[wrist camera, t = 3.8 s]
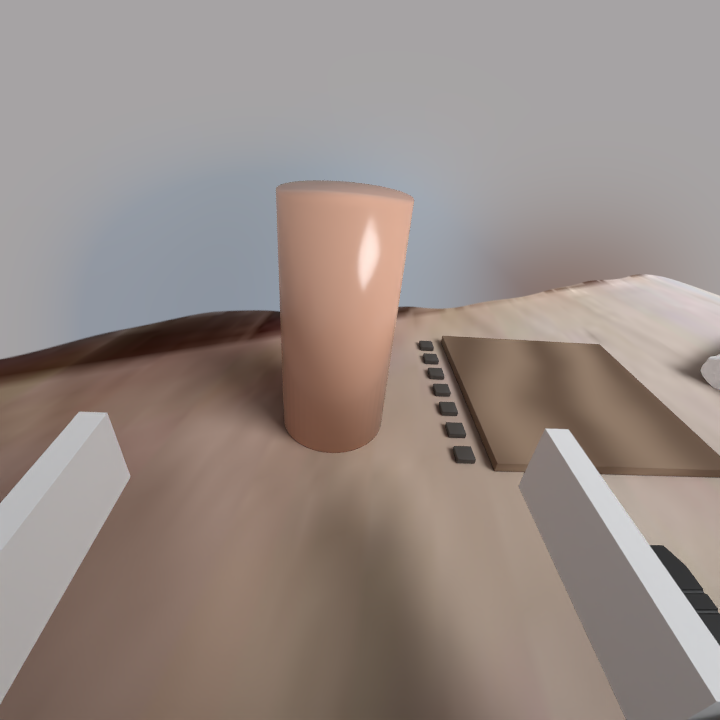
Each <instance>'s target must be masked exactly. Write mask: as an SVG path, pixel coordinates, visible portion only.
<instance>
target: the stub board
mask: <svg viewBox="0 0 720 720" xmlns="http://www.w3.org/2000/svg"><path fill="white" fill-rule="evenodd" d="M441 343H442V345H443V348H444V350H445V353H446V355H447V357H448V360H449V362H450V365H451V367H452V370H453V372H454V374H455V377H456V379H457V382H458V384H459V386H460V389H461V391H462V394H463V396H464V398H465V401H466V403H467V406H468V408H469V410H470V413H471V415H472V418H473V420H474V423H475V425H476V427H477V430H478V432H479V435H480V437H481V439H482V442H483V444H484V447H485V449H486V451H487V454H488V456H489V459H490V461H491V463H492V466H493V468H494V471H513V472H525V471H526V469H527V467H528V464H529V462H530V460H531V458H532V456H533V454H534V452H535V449H536V447H537V445H538V443H539V441H540V439H541V437H542V434H543V432H544V430H545V429H569V431H570V432H571V434H572V435H573V436H574V438H575V439H576V441H577V442H578V444H579V445H580V446H581V448H582V449H583V451H584V452H585V454H586V455H587V456H588V458H589V459H590V461H591V462H592V464H593V465H594V466H595V468H596V469H597V471H598V472H599V474H620V475H655V476H690V477H720V456H719V455H718V454H717V453H716V452H715V451H714V450H713V449H712V448H711V447H709V446H708V445H707V444H706V443H705V442H704V441H703V440H702V439H701V438H700V437H699V436H698V435H697V434H695V433H694V432H693V431H692V430H691V429H690V428H689V427H688V426H687V425H686V424H685V423H684V422H683V421H681V420H680V419H679V418H678V417H677V416H676V415H675V414H674V413H673V412H672V411H671V410H670V409H669V408H667V407H666V406H665V405H664V404H663V403H662V402H661V401H660V400H659V399H658V398H657V397H656V396H654V395H653V394H652V393H651V392H650V391H649V390H648V389H647V388H646V387H645V386H644V385H643V384H642V383H640V382H639V381H638V380H637V379H636V378H635V377H634V376H633V375H632V374H631V373H630V372H629V371H628V370H626V369H625V368H624V367H623V366H622V365H621V364H620V363H619V362H618V361H617V360H616V359H615V358H614V357H612V356H611V355H610V354H609V353H608V352H607V351H606V350H605V349H604V348H603V347H602V346H601V345H599V344H582V343H564V342H545V341H527V340H509V339H490V338H472V337H453V336H442V340H441ZM419 345H420V348H421V350H430V351H433V348H434V347H433V344H432V342H431V341H419ZM423 358H424V361H425V364H438V362H439V360H438V358H437V355H436V354H425V353H424V355H423ZM428 374H429V377H430V379H444V374H443V371H442V368H428ZM433 389H434V392H435V395H436V396H450V394H451V392H450V390H449V387H448V384H433ZM439 408H440V411H441V414H442V415H449V416H457V414H458V411H457V408H456V406H455V403H454V402H439ZM445 427H446V430H447V433H448V436H449V437H453V438H465V436H466V432H465V430H464V427H463V424H462V423H451V422H446V425H445ZM453 452H454V455H455V458H456V461H457V463H475V460H476V459H475V457H474V454H473V451H472V448H471V447H469V446H454V447H453Z"/></svg>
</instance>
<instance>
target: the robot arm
mask: <svg viewBox="0 0 720 720" xmlns="http://www.w3.org/2000/svg"><path fill="white" fill-rule="evenodd" d="M129 479H130V474H129V471H128V468H127V466H126V463H125V460H124V457H123V455H122V452H121V449H120V446H119V444H118V441H117V438H116V435H115V433H114V430H113V427H112V424H111V422H110V419H109V416H108V413H101V412H79V413H78V414H77V415H76V416H75V417H74V418H73V420H72V421H71V422H70V423H69V424H68V425H67V427H66V428H65V429H64V430H63V431H62V432H61V433H60V435H59V436H58V437H57V438H56V439H55V440H54V442H53V443H52V444H51V445H50V446H49V447H48V449H47V450H46V451H45V452H44V453H43V454H42V455H41V457H40V458H39V459H38V460H37V461H36V462H35V464H34V465H33V466H32V467H31V468H30V469H29V471H28V472H27V473H26V474H25V475H24V476H23V477H22V479H21V480H20V481H19V482H18V483H17V484H16V486H15V487H14V488H13V489H12V490H11V491H10V493H9V494H8V495H7V496H6V497H5V498H4V499H3V501H2V502H1V503H0V704H1V702H2V700H3V699H4V697H5V695H6V693H7V692H8V690H9V688H10V686H11V685H12V683H13V681H14V679H15V678H16V676H17V674H18V672H19V671H20V669H21V667H22V665H23V664H24V662H25V660H26V658H27V657H28V655H29V653H30V651H31V650H32V648H33V646H34V644H35V643H36V641H37V639H38V637H39V636H40V634H41V632H42V631H43V629H44V627H45V625H46V624H47V622H48V620H49V618H50V617H51V615H52V613H53V611H54V610H55V608H56V606H57V604H58V603H59V601H60V599H61V597H62V596H63V594H64V592H65V590H66V589H67V587H68V585H69V583H70V582H71V580H72V578H73V576H74V575H75V573H76V571H77V569H78V568H79V566H80V564H81V562H82V561H83V559H84V557H85V555H86V554H87V552H88V550H89V549H90V547H91V545H92V543H93V542H94V540H95V538H96V536H97V535H98V533H99V531H100V529H101V528H102V526H103V524H104V522H105V521H106V519H107V517H108V515H109V514H110V512H111V510H112V508H113V507H114V505H115V503H116V501H117V500H118V498H119V496H120V494H121V493H122V491H123V489H124V487H125V486H126V484H127V482H128V480H129ZM518 487H519V489H520V491H521V493H522V495H523V497H524V500H525V502H526V504H527V506H528V508H529V510H530V513H531V515H532V517H533V519H534V521H535V523H536V526H537V528H538V530H539V532H540V534H541V536H542V539H543V541H544V543H545V545H546V547H547V549H548V552H549V554H550V556H551V558H552V560H553V562H554V565H555V567H556V569H557V571H558V573H559V575H560V578H561V580H562V582H563V584H564V586H565V588H566V591H567V593H568V595H569V597H570V599H571V601H572V603H573V606H574V608H575V610H576V612H577V614H578V616H579V619H580V621H581V623H582V625H583V627H584V629H585V632H586V634H587V636H588V638H589V640H590V642H591V645H592V647H593V649H594V651H595V653H596V655H597V658H598V660H599V662H600V664H601V666H602V668H603V671H604V673H605V675H606V677H607V679H608V681H609V684H610V686H611V688H612V690H613V692H614V694H615V697H616V699H617V701H618V703H619V705H620V707H621V710H622V712H623V714H624V716H625V718H626V720H720V614H719V613H718V608H717V607H716V606H715V604H714V603H713V602H712V600H711V599H710V598H709V596H708V595H707V594H705V593H704V592H703V588H702V587H701V586H700V584H699V583H698V581H697V580H696V579H695V577H694V576H693V575H692V573H691V572H690V571H689V569H688V568H687V567H686V566H685V565H684V564H683V563H682V562H681V561H680V560H679V559H678V558H677V557H675V556H674V555H673V554H672V553H671V552H670V551H669V550H668V549H666V548H665V547H664V546H663V545H649V544H648V542H647V541H646V539H645V538H644V537H643V535H642V534H641V532H640V531H639V529H638V528H637V527H636V525H635V524H634V522H633V521H632V519H631V518H630V517H629V515H628V514H627V512H626V511H625V509H624V508H623V507H622V505H621V504H620V502H619V501H618V499H617V498H616V497H615V495H614V494H613V492H612V491H611V489H610V488H609V486H608V485H607V484H606V482H605V481H604V479H603V478H602V476H601V475H600V474H599V472H598V471H597V469H596V468H595V466H594V465H593V464H592V462H591V461H590V459H589V458H588V456H587V455H586V454H585V452H584V451H583V449H582V448H581V446H580V445H579V444H578V442H577V441H576V439H575V438H574V436H573V435H572V434H571V432H570V431H569V429H545V430H544V432H543V434H542V437H541V439H540V441H539V443H538V445H537V447H536V449H535V452H534V454H533V456H532V458H531V460H530V462H529V464H528V467H527V469H526V471H525V473H524V475H523V477H522V479H521V482H520V484H519V486H518Z"/></svg>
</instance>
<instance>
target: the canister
mask: <svg viewBox="0 0 720 720" xmlns="http://www.w3.org/2000/svg"><path fill="white" fill-rule="evenodd" d="M276 204H277V231H278V232H277V233H278V260H279V290H280V319H281V348H282V376H283V405H284V424H285V427H286V429H287V431H288V433H289V434H290V435H291V437H292V438H294V439H295V440H296V441H297V442H298V443H300V444H302V445H303V446H305V447H308V448H310V449H313V450H317V451H321V452H329V453H340V452H347V451H352V450H355V449H358V448H360V447H362V446H364V445H366V444H367V443H369V442H370V441H371V440H372V439H373V438H374V437H375V436H376V435H377V433H378V431H379V429H380V426H381V420H382V413H383V406H384V399H385V393H386V386H387V379H388V373H389V366H390V359H391V352H392V346H393V339H394V332H395V325H396V319H397V312H398V305H399V298H400V292H401V285H402V277H403V272H404V265H405V258H406V251H407V245H408V238H409V231H410V224H411V217H412V211H413V204H414V199H413V197H411V196H410V195H408V194H406V193H403V192H400V191H397V190H394V189H390V188H385V187H381V186H375V185H369V184H362V183H354V182H341V181H297V182H289V183H285V184H281V185H279V186H278V187H277V188H276Z"/></svg>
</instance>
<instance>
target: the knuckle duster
mask: <svg viewBox="0 0 720 720" xmlns="http://www.w3.org/2000/svg"><path fill="white" fill-rule="evenodd" d="M700 371H701V373H702V376H703V377H704V378H705V380H706V381H707V382H708V383H709V384H710V385H711V386H712V387H714V388H716V389H718V390H720V354H718V355H717V356H711V357H709V358H708V359H707V361H706V362H705V363H704V364H703V365H702V368H701V370H700Z"/></svg>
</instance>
